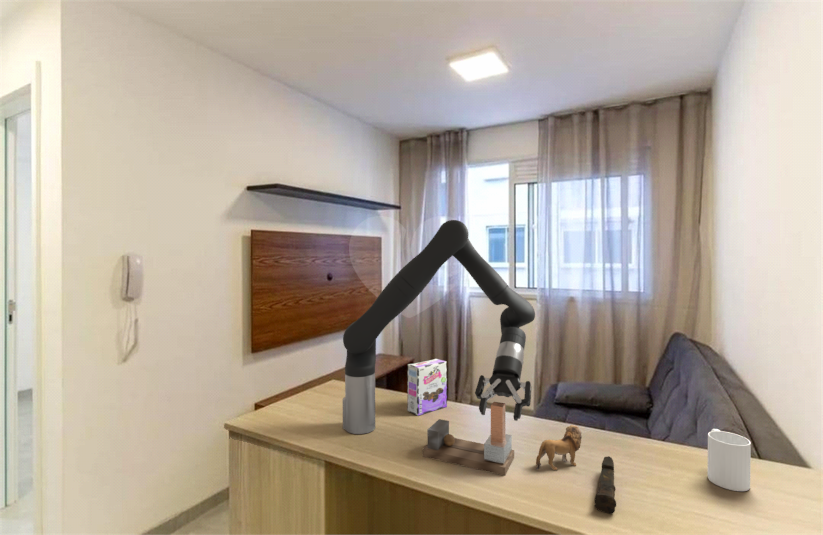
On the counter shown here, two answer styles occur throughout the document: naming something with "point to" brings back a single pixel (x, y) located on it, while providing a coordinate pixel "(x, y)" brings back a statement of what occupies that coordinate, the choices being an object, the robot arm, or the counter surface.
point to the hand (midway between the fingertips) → (498, 416)
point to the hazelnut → (449, 440)
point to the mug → (729, 460)
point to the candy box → (427, 386)
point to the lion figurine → (561, 447)
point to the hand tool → (606, 488)
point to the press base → (461, 451)
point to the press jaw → (498, 436)
